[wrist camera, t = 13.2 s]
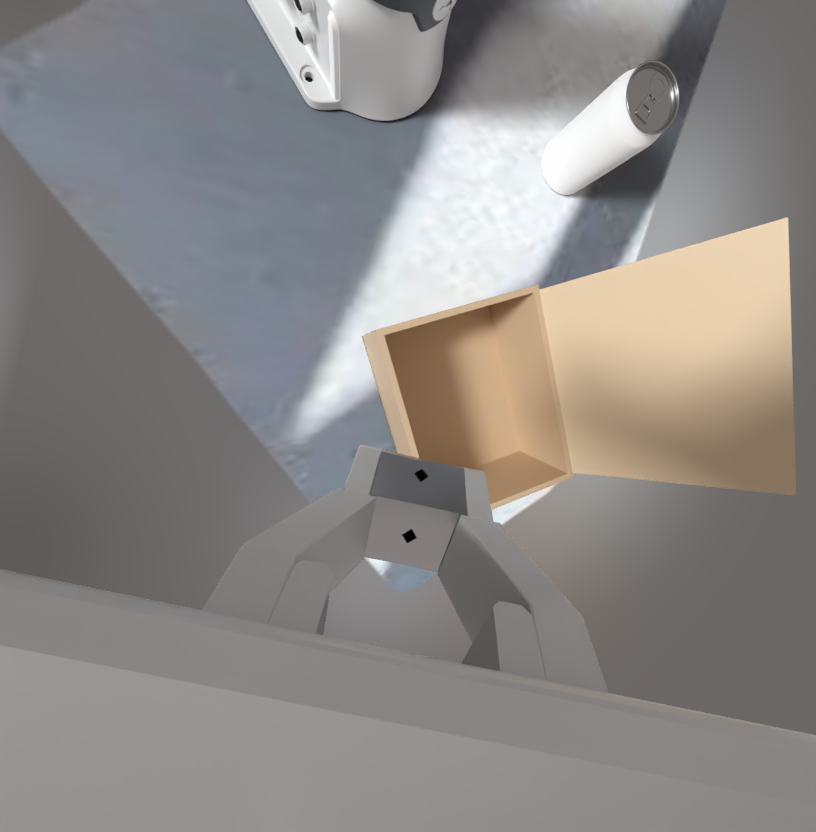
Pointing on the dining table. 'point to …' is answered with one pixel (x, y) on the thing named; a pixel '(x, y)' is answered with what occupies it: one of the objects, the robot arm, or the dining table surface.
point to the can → (612, 128)
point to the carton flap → (681, 365)
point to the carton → (476, 392)
